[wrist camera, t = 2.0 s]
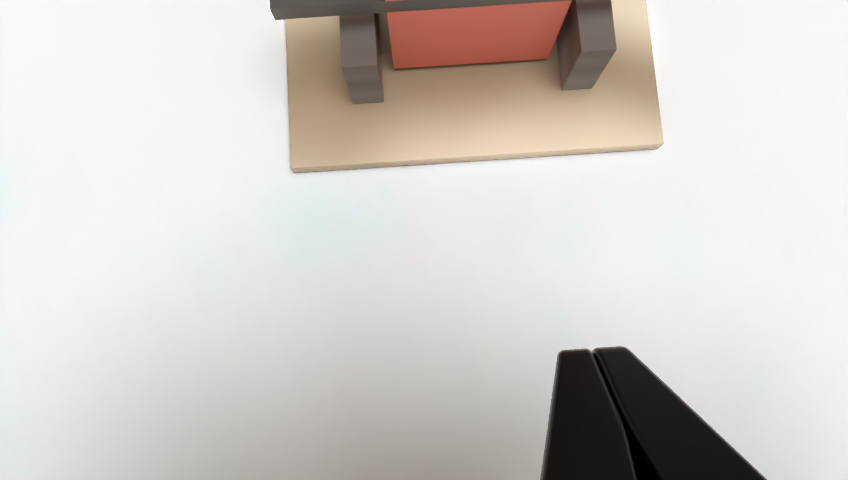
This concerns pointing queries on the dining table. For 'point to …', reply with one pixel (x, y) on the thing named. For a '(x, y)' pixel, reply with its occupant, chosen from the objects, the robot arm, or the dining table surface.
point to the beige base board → (470, 95)
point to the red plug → (450, 27)
